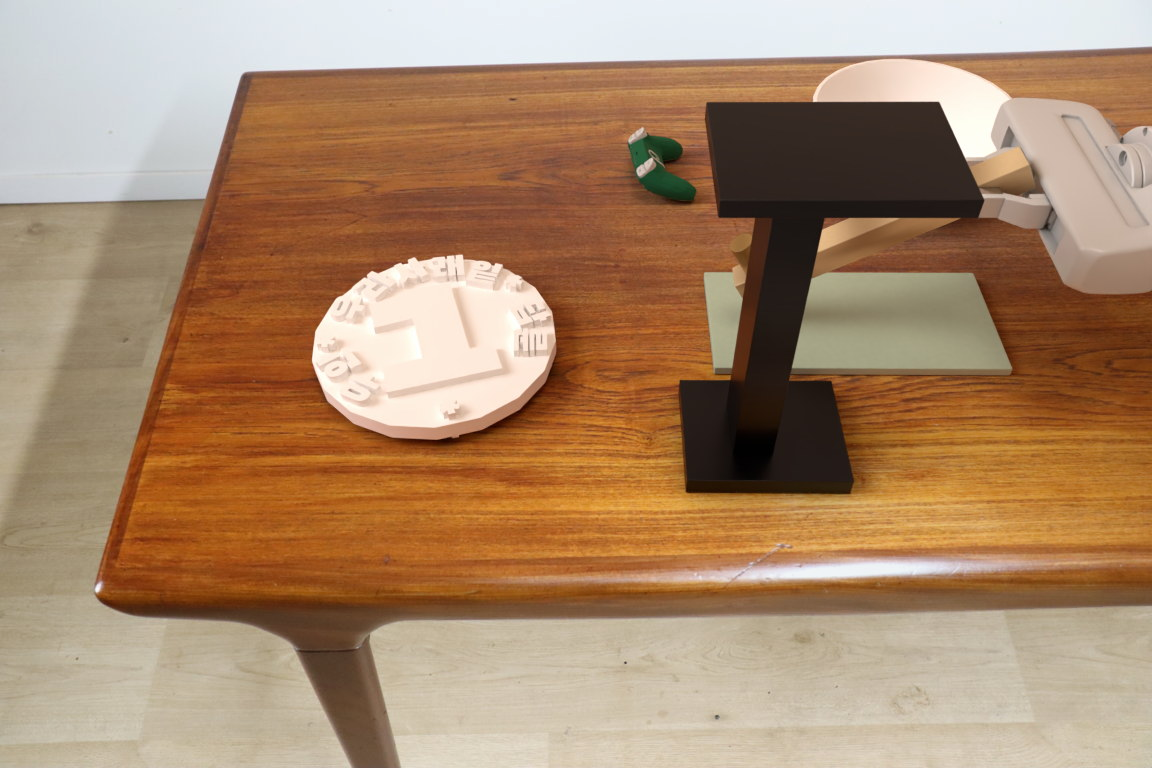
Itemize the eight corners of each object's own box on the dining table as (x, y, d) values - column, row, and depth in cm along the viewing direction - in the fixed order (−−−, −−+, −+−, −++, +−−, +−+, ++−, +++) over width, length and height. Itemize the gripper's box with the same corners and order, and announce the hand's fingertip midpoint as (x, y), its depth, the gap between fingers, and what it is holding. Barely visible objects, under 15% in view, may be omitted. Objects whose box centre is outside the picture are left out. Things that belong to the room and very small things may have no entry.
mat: (970, 279, 85) (973, 272, 85) (1009, 375, 77) (1013, 369, 76) (703, 278, 86) (704, 271, 85) (713, 374, 78) (714, 367, 77)
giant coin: (288, 439, 73) (279, 414, 71) (348, 274, 87) (342, 249, 85) (545, 451, 72) (544, 426, 70) (565, 282, 86) (565, 257, 84)
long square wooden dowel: (1026, 169, 71) (1010, 114, 68) (1036, 188, 70) (1020, 132, 66) (743, 286, 80) (716, 242, 77) (746, 305, 78) (719, 261, 75)
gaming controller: (657, 168, 101) (618, 137, 97) (684, 144, 99) (645, 111, 96) (673, 221, 95) (632, 189, 91) (702, 196, 93) (660, 163, 89)
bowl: (832, 113, 105) (847, 42, 98) (1015, 158, 98) (1042, 85, 92) (771, 208, 93) (784, 134, 87) (974, 266, 86) (1003, 190, 80)
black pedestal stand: (853, 393, 76) (939, 101, 57) (877, 494, 69) (985, 200, 50) (678, 392, 76) (706, 101, 57) (685, 492, 69) (720, 200, 50)
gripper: (1119, 77, 75) (944, 77, 76) (1236, 237, 61) (1021, 237, 62) (1089, 145, 80) (924, 146, 80) (1191, 309, 66) (991, 309, 66)
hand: (967, 187), depth 71 cm, fingers closed on long square wooden dowel, 2 cm apart
